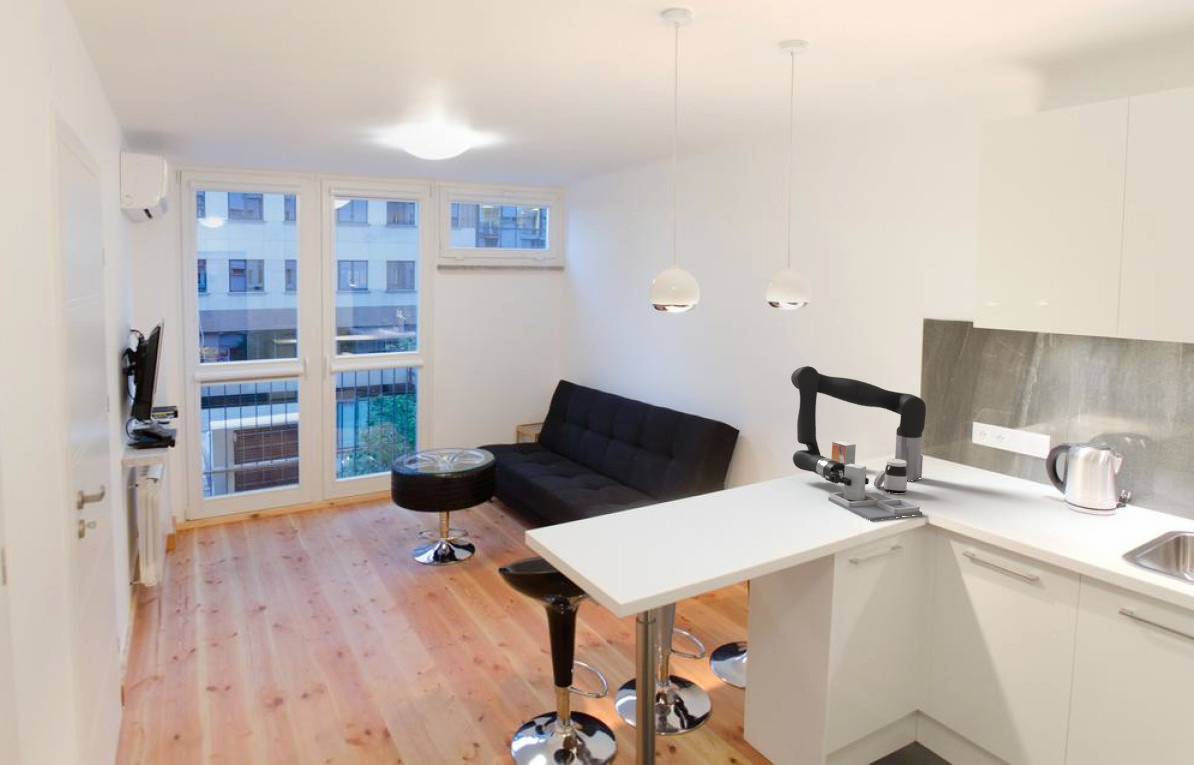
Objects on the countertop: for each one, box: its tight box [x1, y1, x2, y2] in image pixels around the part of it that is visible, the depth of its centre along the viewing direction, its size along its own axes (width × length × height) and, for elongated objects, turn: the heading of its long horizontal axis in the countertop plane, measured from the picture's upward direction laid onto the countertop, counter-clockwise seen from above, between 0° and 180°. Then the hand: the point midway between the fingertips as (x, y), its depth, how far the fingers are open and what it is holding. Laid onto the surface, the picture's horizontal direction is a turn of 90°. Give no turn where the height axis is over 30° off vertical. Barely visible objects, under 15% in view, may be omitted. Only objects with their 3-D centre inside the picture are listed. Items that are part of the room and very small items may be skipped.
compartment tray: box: [827, 491, 923, 522], centre depth 254 cm, size 20×24×3 cm
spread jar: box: [873, 458, 908, 494], centre depth 274 cm, size 12×11×12 cm
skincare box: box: [843, 463, 867, 501], centre depth 257 cm, size 6×4×12 cm
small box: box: [830, 440, 856, 465], centre depth 307 cm, size 8×6×10 cm
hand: (859, 482), depth 255 cm, fingers closed on skincare box, 6 cm apart
